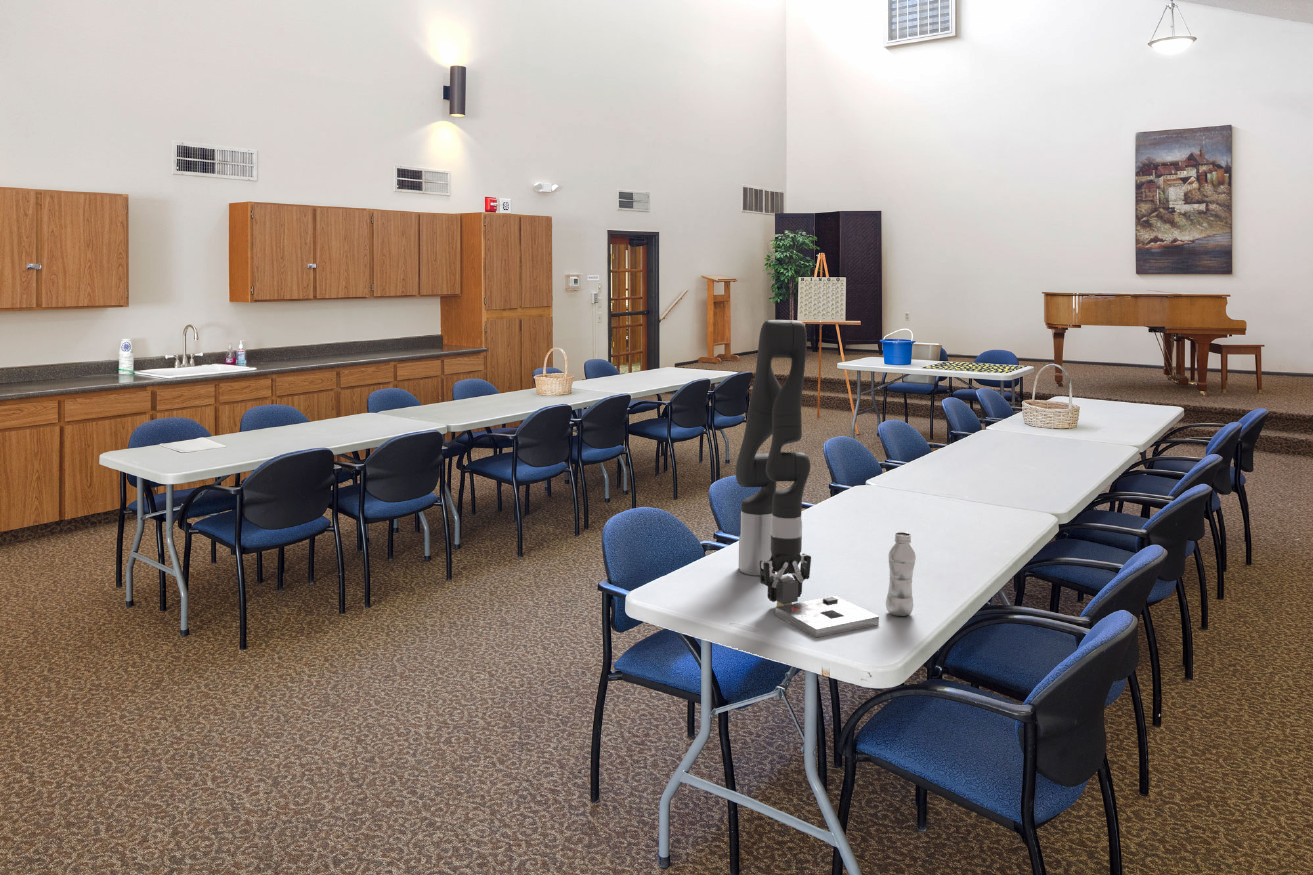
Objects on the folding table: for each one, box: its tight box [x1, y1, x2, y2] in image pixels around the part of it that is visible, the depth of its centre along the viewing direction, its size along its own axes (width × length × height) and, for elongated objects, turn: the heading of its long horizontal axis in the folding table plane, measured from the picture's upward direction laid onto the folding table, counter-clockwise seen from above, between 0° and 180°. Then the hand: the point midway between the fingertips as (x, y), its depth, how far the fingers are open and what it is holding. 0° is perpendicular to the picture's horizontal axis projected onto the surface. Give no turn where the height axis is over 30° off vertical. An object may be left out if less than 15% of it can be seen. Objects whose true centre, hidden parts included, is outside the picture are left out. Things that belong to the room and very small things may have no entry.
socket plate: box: [775, 595, 880, 638], centre depth 211 cm, size 16×18×3 cm
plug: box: [776, 575, 799, 607], centre depth 218 cm, size 5×4×8 cm
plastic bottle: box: [885, 531, 917, 617], centre depth 213 cm, size 6×7×20 cm
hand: (784, 598), depth 219 cm, fingers open, 6 cm apart
